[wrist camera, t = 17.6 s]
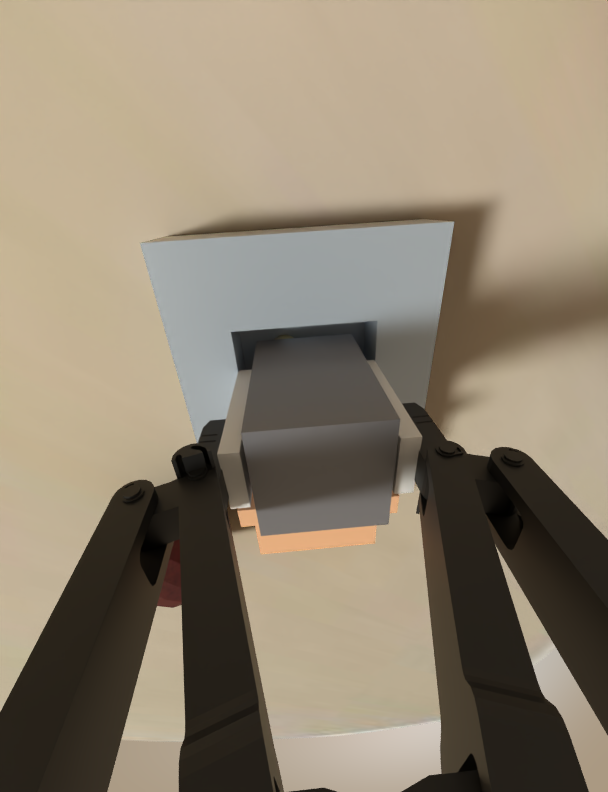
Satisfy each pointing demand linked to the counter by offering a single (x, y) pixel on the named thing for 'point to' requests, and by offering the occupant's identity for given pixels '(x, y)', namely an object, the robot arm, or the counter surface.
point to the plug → (318, 436)
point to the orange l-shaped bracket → (310, 534)
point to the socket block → (299, 300)
